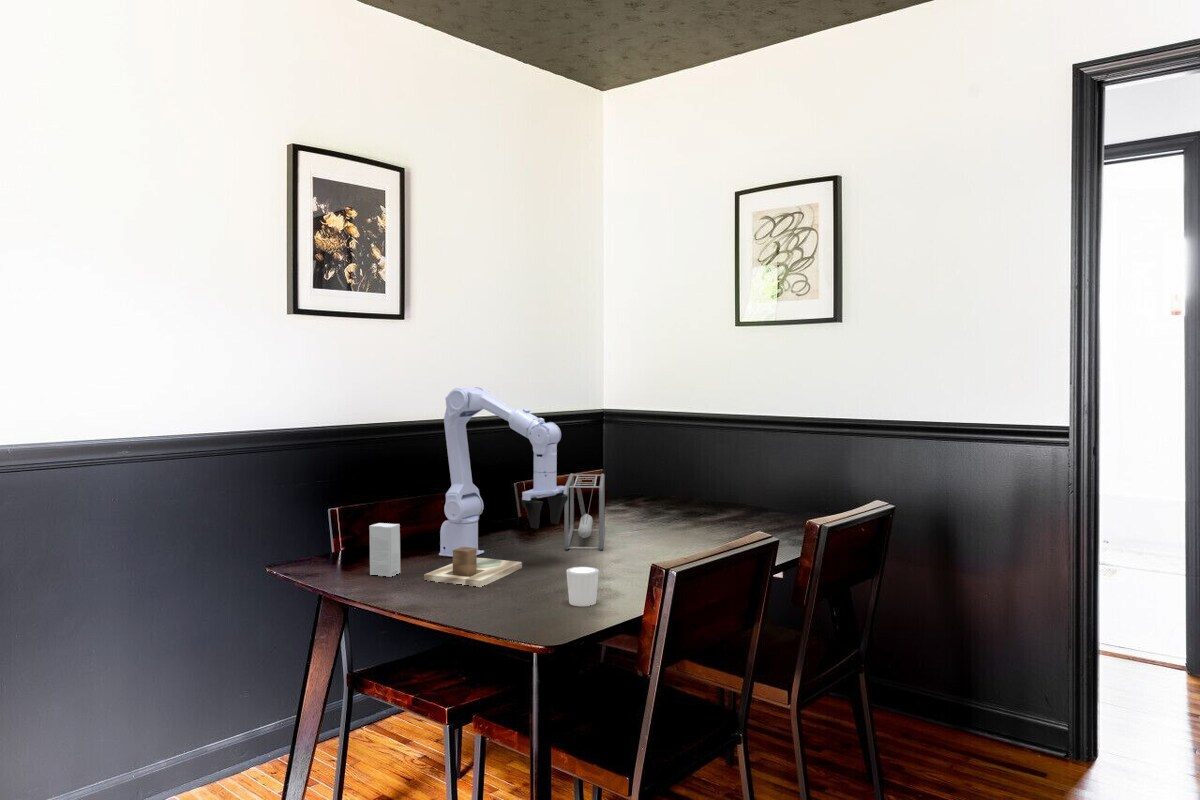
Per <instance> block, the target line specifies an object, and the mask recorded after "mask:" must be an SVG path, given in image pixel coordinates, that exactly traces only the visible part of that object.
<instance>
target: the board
mask: <svg viewBox="0 0 1200 800" xmlns="http://www.w3.org/2000/svg"><path fill="white" fill-rule="evenodd" d="M521 569H523V562H522V561H517V560H516V561H515V560H504V559H495V558H486V557H477V574H476V575H474V576H471V577H465V576H456V575H453V562H451V563H449V564H447V565H444V566H442V567H439V568H437V569H435V570H433V571H432V570H431V571H430V572H427V573H425V574H424V575H423V578H424V580H427V581H426V582H430V581H435V582H434V583H438V582H444V583H443V584H447V583H453V584H452V585H456V584H462V585H461V586H464V585H469V586H468V587H473V586H476V587H477V588H483V587H484V585H485V586H486V585H489V584H491V583H494V582H496V581H498V580H500V579H502V578H504V577H506V576H508V575H510V574H513V573H514V572H517V571H518V570H521ZM482 586H483V587H482ZM476 587H475V588H476Z"/></svg>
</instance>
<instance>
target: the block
mask: <svg viewBox="0 0 1200 800" xmlns="http://www.w3.org/2000/svg"><path fill="white" fill-rule="evenodd" d="M477 556H478V555H477V548H469V547H460V548H457V549H454V550H453V557H452V563H453V575H456V576H465V577H471V576H474V575H476V574H477V558H478V557H477Z"/></svg>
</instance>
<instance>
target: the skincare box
mask: <svg viewBox="0 0 1200 800" xmlns="http://www.w3.org/2000/svg"><path fill="white" fill-rule="evenodd" d="M368 527H369V528H368V530H369V575H370V576H371V575H378V576H377V577H383V576H386V578H392V576H393V577H395V576H397V575H396V574H398V575H400V574H401V532H400V531H401V528H400V527H401V525H400V523H388V522H387V523H386V522H385V523H384V522H378V523H373V524H371V525H369V526H368ZM399 573H400V574H399Z"/></svg>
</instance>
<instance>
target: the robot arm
mask: <svg viewBox="0 0 1200 800" xmlns="http://www.w3.org/2000/svg"><path fill="white" fill-rule="evenodd" d="M444 400H445V406H446V409H445V413H444V417H443V424H444V431H445V432H444V433H445V441H446V449H447V457H448V458H447V459H448V466H449V474H450V477H449V478H450V483H451V486H450V488H448V490H447V491H446V493H445V504H444V506H443V507H444V509H443V510H444V515H445V517H446V518H447V520H444V521H443V522H442V524H441V527H440V531H439V534H440V535H439V536H440V541H439V545H440V548H439V549H440V551H439V553H438V556H443V557H452V558H453V550H454V549H457V548H460V547H469V548H477V556H479V555H481V554H484V553H485V550H480V549H479V520H480V515H482V514H483V510H484V507H485V506H484V501H483V499H482V497H481V495H480V494H481V493H480V489H479V488H478V487H477V486H476V485H475V484H474V483H473V477H472V469H471V459H470V451H469V442H468V433H467V423H468V422H469V421H470V420H471V418H472V417H473V416H475V415H477V414H479V413H480V412H481V411H483V410H485V411H487V412H489V413H491V414H493V415H495V416H498V417H499V418H501V419H503V420H504V421H507V422H508V425H509V428H510V429H512V430H513V431H515V432H517V434H520V435H521V436H523V437H525V438H527V439H528V440H529V442H530V444H531V446H532V451H533V488H532V489H529V490H526V491H522V492H521V493H522V494H521V495H522V497H521V504H522V507H523V508H524V510H525V512H526V515H527V518H528V521H529V527H530V529H537V530H538V529H539V528H540V519H541V511H542V508H543V505H544V501H540V500H539V499H542V498H546V499H547V503H548V507H549V519H550V524H552V525H559V523H560V520H561V515H562V512H563V511H564V510H563V509H564V505H565V503H566V501H567V500H568V496H567V495H564V494H567V486H565V485H557V478H558V477H557V476H558V475H557V474H558V473H557V464H558V462H557V459H558V458H557V457H558V456H557V455H558V454H557V452H558V449H557V447H558V443H559V442H560V441H561V438H562V431H561V429H560V427H559V426H558V425H557V424H556V423H555V422H552V421H549V422H546V421H545V418H542V417H537V416H536V415H534V414H532V413H530V412H531V410H530V409H528V408H518V409H514V408H513V407H511V406H509V404H507V403H505V402H504V401H502V400H500V399H499V398H497V397H496V396H494V394H492V393H491V392H490V391H488V390H485V389H483V388H482V387H469V388H468V387H466V388H461V387H455V388H453V389H452V390H451V391H450V392H449V393H448V394H447V396H446V397H445V399H444Z"/></svg>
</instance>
